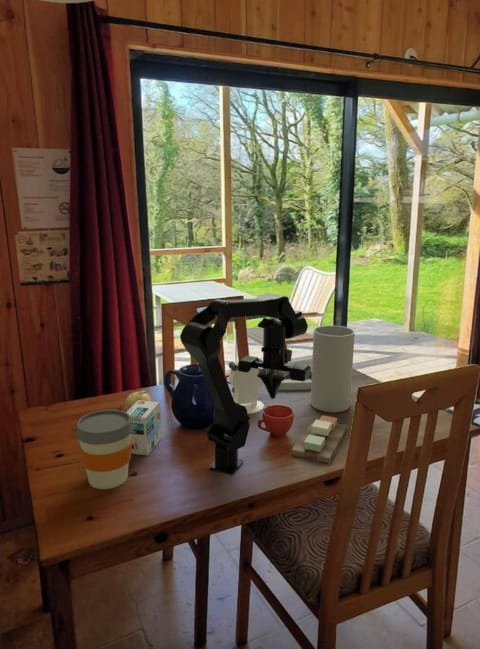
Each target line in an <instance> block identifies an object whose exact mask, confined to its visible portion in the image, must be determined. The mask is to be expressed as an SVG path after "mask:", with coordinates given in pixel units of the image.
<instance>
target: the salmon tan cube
mask: <svg viewBox="0 0 480 649" xmlns="http://www.w3.org/2000/svg"><path fill="white" fill-rule="evenodd" d="M318 420H322V421H327V422H332V428H331V431H333V430H334V429H335V427H336V425H337V424H338V418H337V417H334V416H329V415H323V414H322V415H321V417H320V418H319V419H318Z"/></svg>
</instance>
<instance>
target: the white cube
mask: <svg viewBox="0 0 480 649" xmlns="http://www.w3.org/2000/svg"><path fill="white" fill-rule="evenodd" d="M331 428H332V422H327V421H322V420H319V419H317V420H315V422H314V423H313V425H312V428H311V433H315V434H317V436H320V437H324V438H325V437H326V436H327V435H328V434H329V432H330V431H331Z"/></svg>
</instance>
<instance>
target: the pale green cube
mask: <svg viewBox="0 0 480 649" xmlns="http://www.w3.org/2000/svg"><path fill="white" fill-rule="evenodd" d="M325 441H326V440H325V438H324V437H320V436H315V435H310V434H309V435H308V437H307V438H306V439H305V441H304V449H308V450H312V451H317V452H321V450H322V448H323V447H324V445H325Z"/></svg>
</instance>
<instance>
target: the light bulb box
mask: <svg viewBox="0 0 480 649" xmlns="http://www.w3.org/2000/svg"><path fill="white" fill-rule="evenodd" d="M125 412H126V413H128V414H129V415H130V417H131V423H132V428H133V429H132V432H131V438H132V449H131V455H132V454H133V455H142V456H149V454H150V453H151V452H152V450H153V449H154V448H155V446H156V445H157V444H158V443H159V442H160V441H161V439H162V417H161V416H162V415H161V413H162V412H161V402H160V401H152V402H151V401H142V400H138V401H137V402H136V403H135V404H134V405H133V406H132V407H131V408H130V409H129V410H127V411H125Z"/></svg>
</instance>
